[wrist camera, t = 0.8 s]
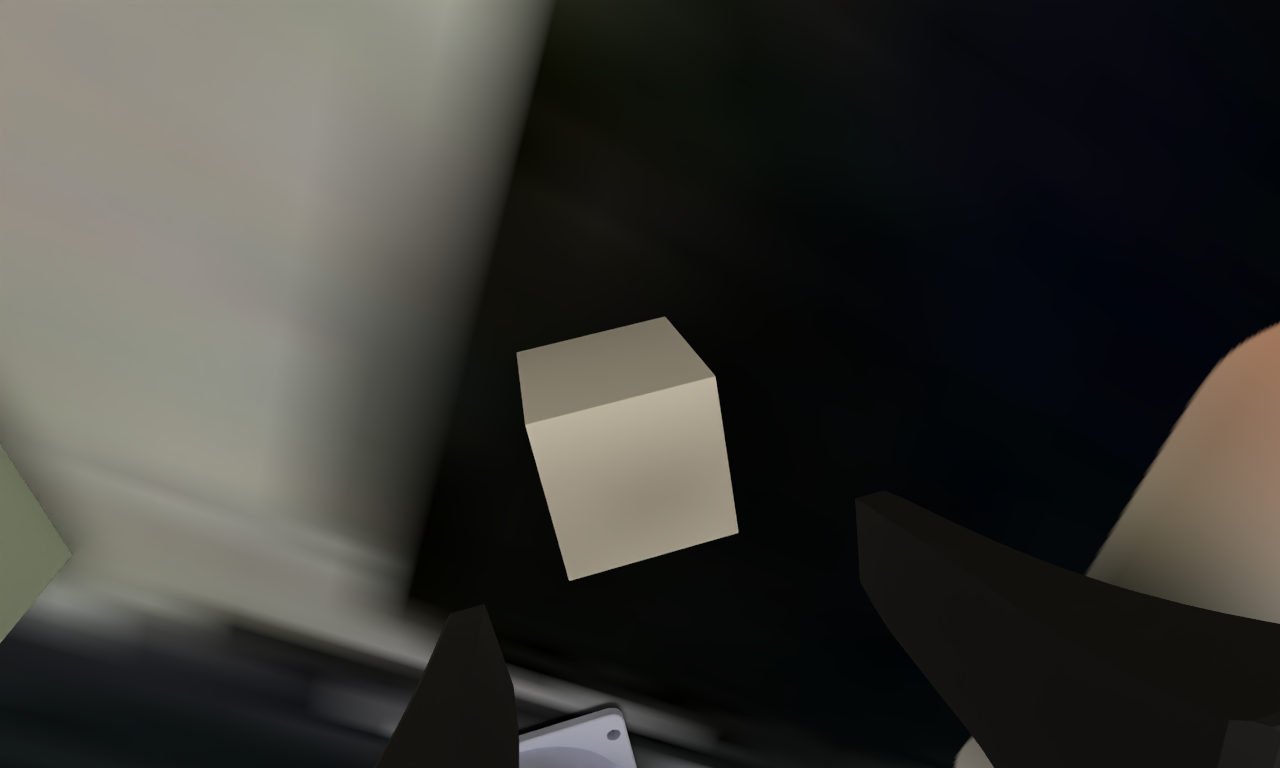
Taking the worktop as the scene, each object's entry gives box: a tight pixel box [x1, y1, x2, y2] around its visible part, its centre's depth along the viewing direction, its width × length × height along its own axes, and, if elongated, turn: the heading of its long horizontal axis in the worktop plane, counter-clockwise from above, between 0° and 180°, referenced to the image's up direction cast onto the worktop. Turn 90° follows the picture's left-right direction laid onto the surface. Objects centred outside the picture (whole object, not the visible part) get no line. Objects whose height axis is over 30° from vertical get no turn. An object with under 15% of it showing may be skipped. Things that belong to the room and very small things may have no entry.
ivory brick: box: [517, 317, 739, 581], centre depth 19 cm, size 4×4×5 cm
